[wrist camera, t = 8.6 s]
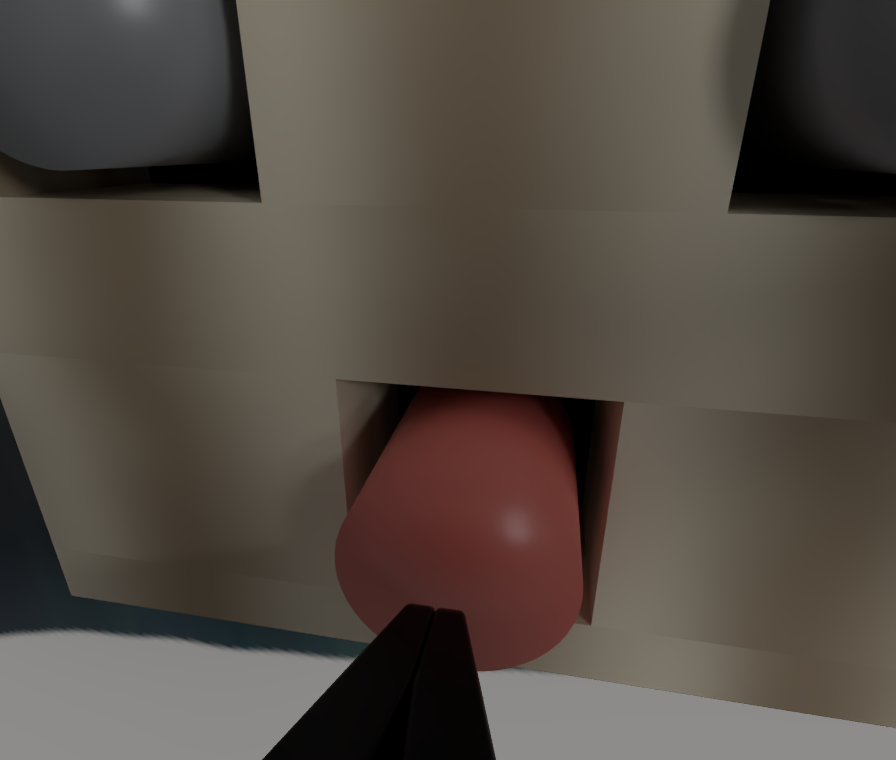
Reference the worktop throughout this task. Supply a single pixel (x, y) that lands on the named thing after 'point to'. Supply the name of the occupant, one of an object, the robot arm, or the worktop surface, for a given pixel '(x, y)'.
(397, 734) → the robot arm
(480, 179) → the plug board
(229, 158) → the grey plug
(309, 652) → the worktop surface
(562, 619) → the red plug
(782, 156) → the grey plug
